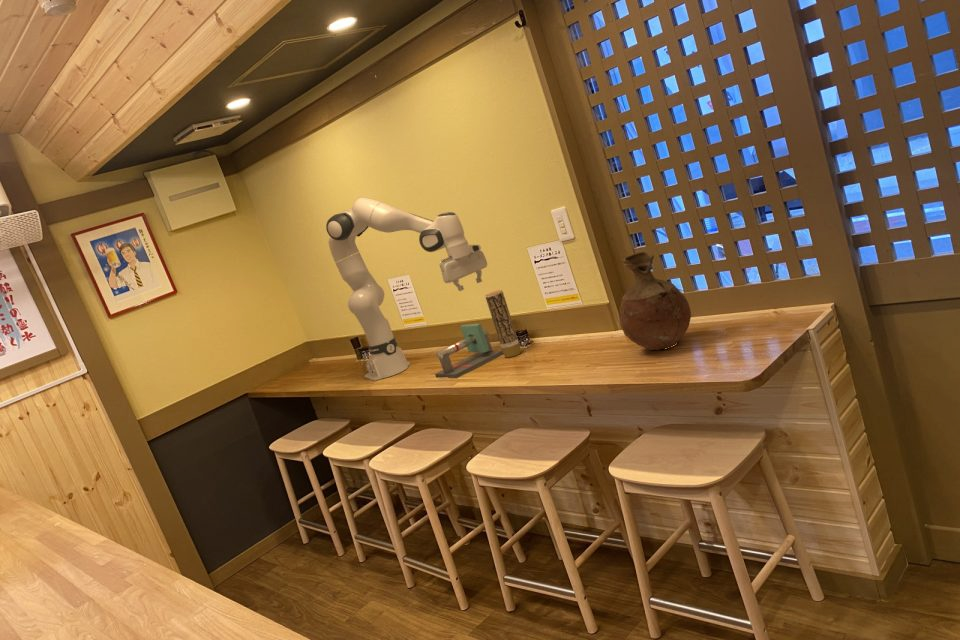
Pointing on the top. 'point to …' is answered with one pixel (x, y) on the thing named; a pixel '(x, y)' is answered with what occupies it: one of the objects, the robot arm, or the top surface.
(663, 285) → the jug
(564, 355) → the top surface
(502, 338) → the bark covered log
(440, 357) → the pipe rig
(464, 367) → the base board
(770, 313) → the top surface
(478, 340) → the collar
